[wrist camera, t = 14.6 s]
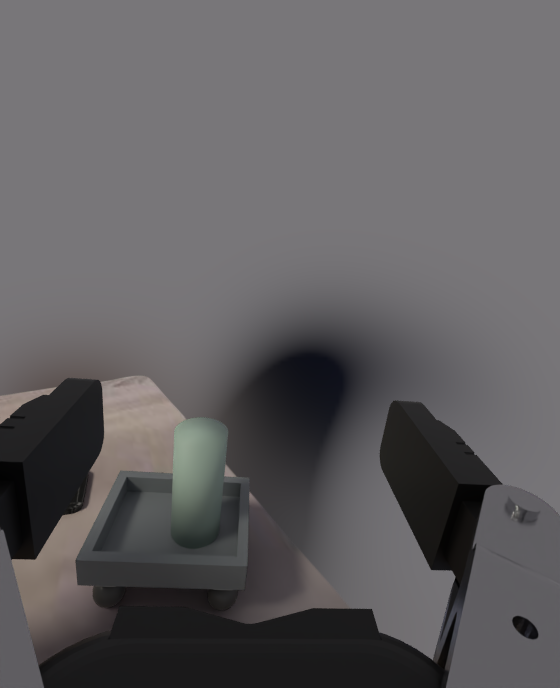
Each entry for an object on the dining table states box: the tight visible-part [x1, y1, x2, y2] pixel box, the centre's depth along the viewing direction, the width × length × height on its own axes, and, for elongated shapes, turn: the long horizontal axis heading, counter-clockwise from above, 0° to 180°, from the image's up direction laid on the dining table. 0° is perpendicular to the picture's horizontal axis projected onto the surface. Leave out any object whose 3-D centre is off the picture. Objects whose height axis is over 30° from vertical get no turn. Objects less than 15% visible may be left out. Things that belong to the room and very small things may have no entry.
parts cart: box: [76, 471, 250, 610], centre depth 42 cm, size 15×12×8 cm
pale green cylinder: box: [171, 417, 228, 549], centre depth 39 cm, size 5×5×12 cm
